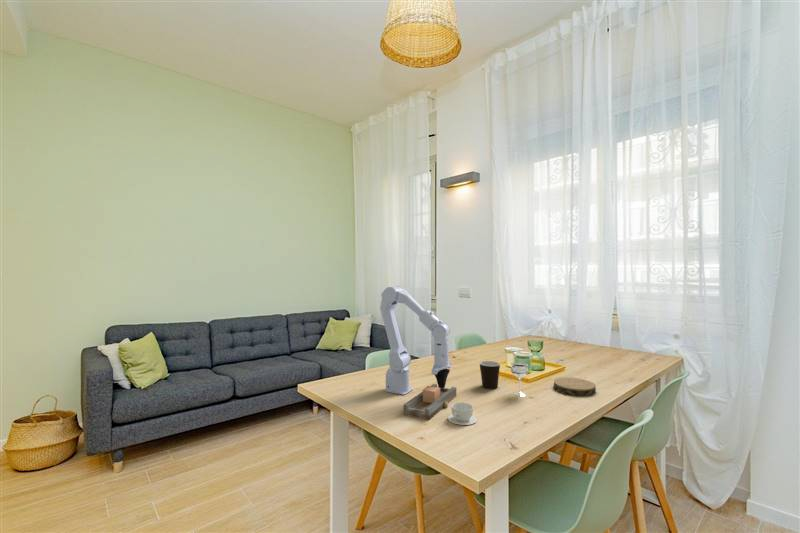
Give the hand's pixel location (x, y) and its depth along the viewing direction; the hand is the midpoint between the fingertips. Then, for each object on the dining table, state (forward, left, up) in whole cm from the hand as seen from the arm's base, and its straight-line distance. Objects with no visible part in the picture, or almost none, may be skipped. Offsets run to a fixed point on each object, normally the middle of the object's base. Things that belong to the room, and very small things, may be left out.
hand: (441, 387), depth 148 cm
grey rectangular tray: (0, -10, -4) cm, 10 cm away
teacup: (+15, -17, -4) cm, 23 cm away
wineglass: (+27, +17, -4) cm, 32 cm away
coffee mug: (+14, +22, -4) cm, 27 cm away
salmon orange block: (0, -10, -2) cm, 10 cm away
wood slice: (+46, +33, -4) cm, 57 cm away
